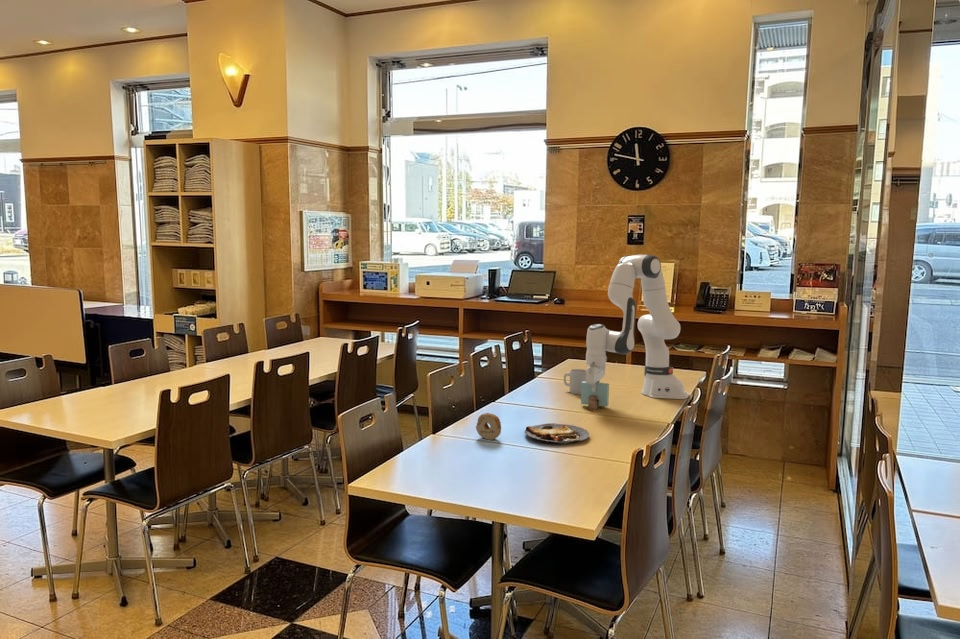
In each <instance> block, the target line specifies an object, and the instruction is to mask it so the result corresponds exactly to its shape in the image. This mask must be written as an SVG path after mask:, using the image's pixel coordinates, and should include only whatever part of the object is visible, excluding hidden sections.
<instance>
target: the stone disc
mask: <svg viewBox="0 0 960 639" xmlns="http://www.w3.org/2000/svg"><path fill="white" fill-rule="evenodd" d="M501 424H502V422H501V420H500V418H499V417H498V416H497V415H496V414H494V413H489V412H487V413H486V412H485V413H482V414H480V415H479V416H478V418H477V422H476V425H475V429H476V432H477V434H478V435H479V436H480V437H481V438H483V439H485V440H489V439H490V440H492V441H493V440H495V439H497V438H498V437H499V436H500V435H501V433H502V425H501Z"/></svg>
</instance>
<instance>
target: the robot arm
mask: <svg viewBox="0 0 960 639" xmlns="http://www.w3.org/2000/svg"><path fill="white" fill-rule="evenodd" d="M636 279H641V282H640V283H641V291H642V292H641V293H642V299H643V305H644V307H645V309H646V310H647V311H648V312H649V313H648V314H643V315H641V316H640V317H639V318H638V321H637V329H638V332H640V334H641V336H642V339H643V343H644V345H645V346H644V347H645V364H644V370H643V372H644V380H643V386H642V390H641V394H642V395H644V396H648V397H650V398H653V399H675V400H685V399H687V398H689V397H690V393H689V392H688V391H685V390H686V389H685V385H684V382H683V381H682V380H681V379H679V377H677V376H676V375H674V367H673V366H670V349H669V348H668V347H667V345H666V343H665V342H666V341H665V340H673V339H676V338H678V336H679V334H681V333H680V332H681V328H682V327H681V324H680V322H679V321H678V320H677V319H676V317H675V316H674V314H673V313H672V310H671V307H670V305H669V302H668V297H667V290H666V283H665V278H664V274H663V271H662V264H661V261H660V259H659V257H658V256H656V255H653V254H633V255H625V256H623V257H621V258H620V259H619V260H618V262H617V265H616V266H615V268H614V270H613V272H612V275H611V277H610V281H609V284H608V289H607V297H608V299H609V300H610V302H611V303H612V304H613V305H615V306H617V307H619V308H620V309H621V311H622V313H623V318H622V319H623V320H622V330H621V331H616V330H615V331H614V330H610V329H608V328H606V326H605V324H602V323H595V324H591V325H589V326H588V328H587V333H586V338H585V339H586V341H585V342H586V343H585V345H586V351H585V352H586V353H585V365H587V368H586V370H587V372H586V384H591V387H592V392H595V391H596V382H597V383H601V379H603V378H604V377H605V375H606V365H607V364H606V363H607V361H608V357H607V352H609V353H615V354H619V355H623V356H626V355H628V354H630V353H631V352H632V351H634V349H635V344H636V342H635V340H636V339H635V328H636V316H637V302H636V300H635V299H634V295H633V292H634V287H635V281H636Z"/></svg>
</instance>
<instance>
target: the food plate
mask: <svg viewBox="0 0 960 639" xmlns="http://www.w3.org/2000/svg"><path fill="white" fill-rule="evenodd" d="M524 433H525V434H524V435H526V436H527V437H529V438H530V439H531V438H532V439H534V440H538V441H542V442H546V443H549V442H551V443H556V444H561V445H562V444H569V443H573V442H578V441H584V440H587V439H588V438H589V436H590V432H589V430H587V429H584V428H583V427H580V426H577V425H574V424H566V423H564V424H563V423H551V422H550V423H542V424H538V425H537V424H536V425H531V426H530V425H528V426H526V427H525V430H524ZM575 434H576V435H575ZM556 436H557V437H556ZM578 436H579V438H578ZM567 438H569V440H567V441H565V440H566V439H567Z"/></svg>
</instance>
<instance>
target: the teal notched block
mask: <svg viewBox="0 0 960 639" xmlns="http://www.w3.org/2000/svg"><path fill="white" fill-rule="evenodd" d="M609 391H610V383H606V382H600V383H597V382H596V391H595V392H592V387H591V384H586V381H583V382H581V394H580V405H586V406H588V397H589V396H590V395H596V396H597V399H599V407H606V408H607V407H608V406H609V397H610V396H609V394H610V392H609Z"/></svg>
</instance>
